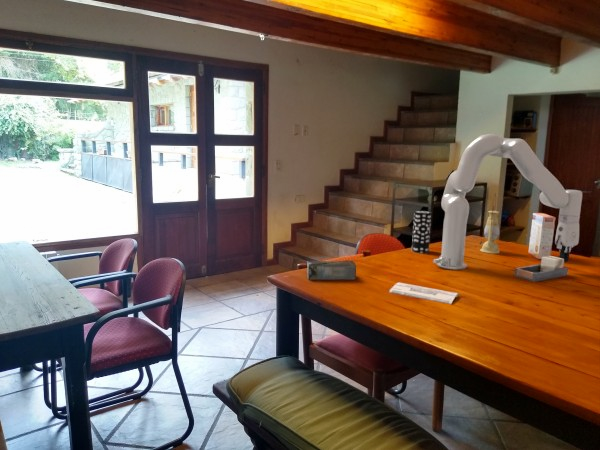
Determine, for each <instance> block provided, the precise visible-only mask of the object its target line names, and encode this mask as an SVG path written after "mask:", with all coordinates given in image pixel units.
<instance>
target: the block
mask: <svg viewBox="0 0 600 450" xmlns="http://www.w3.org/2000/svg"><path fill="white" fill-rule="evenodd" d="M540 261H541V262H540V264H541V269H540V271H548V270H554V269H559V268H564V265H565V264H564V263H565V262H564V259H562V258H559V257H558V256H553V255H551V256H546V257H542V259H540Z"/></svg>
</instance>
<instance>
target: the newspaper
mask: <svg viewBox="0 0 600 450" xmlns="http://www.w3.org/2000/svg"><path fill="white" fill-rule="evenodd" d="M388 291H389V292H388V293H389V294H395V295H401V296H405V297H411V298H417V299H421V300H426V301H432V302H437V303H443V304H447V305H452V303H453V301H454V300H455V298H458V297H459V292H454V291H447V290H441V289H437V288H430V287H425V286H420V285H414V284H410V283H405V282H397V283H395V284H394V285H393V286H392V287H391V288H390V289H389V290H388Z"/></svg>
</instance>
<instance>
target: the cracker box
mask: <svg viewBox="0 0 600 450" xmlns="http://www.w3.org/2000/svg"><path fill="white" fill-rule="evenodd" d="M531 219H532V220H531V228H530V236H529V244H528V253H527V254H529V255H531V256H533V257H534V258H536V260H542V257H546V256H552V255H551V254H552V248H553V247H552V246H553V240H554V234H555V233H554V231H555V225H556V217H555V216H552V215H549V214H547V213H543V212H533V213H532V218H531Z"/></svg>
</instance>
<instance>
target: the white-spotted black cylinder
mask: <svg viewBox="0 0 600 450" xmlns="http://www.w3.org/2000/svg"><path fill="white" fill-rule="evenodd" d="M413 212H414V213H413V222H412V223H413V224H412V225H413V226H412V242H411V252H413V253H418V254H428V253H429V252H430V251H429V250H430V241H431V239H430V237H431V225H432V211H428V210H427V211H426V210H414V211H413Z"/></svg>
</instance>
